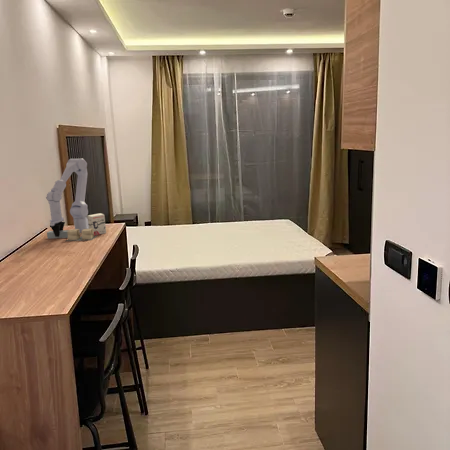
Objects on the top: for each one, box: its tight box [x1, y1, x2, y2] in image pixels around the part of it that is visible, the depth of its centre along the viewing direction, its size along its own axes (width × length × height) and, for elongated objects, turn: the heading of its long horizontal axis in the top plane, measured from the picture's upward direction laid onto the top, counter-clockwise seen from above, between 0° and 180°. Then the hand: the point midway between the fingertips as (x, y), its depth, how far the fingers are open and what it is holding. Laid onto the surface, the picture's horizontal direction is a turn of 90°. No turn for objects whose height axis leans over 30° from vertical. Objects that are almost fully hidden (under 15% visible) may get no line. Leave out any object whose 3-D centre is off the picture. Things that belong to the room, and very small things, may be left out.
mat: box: [65, 235, 98, 242], centre depth 244 cm, size 11×15×1 cm
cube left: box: [67, 228, 81, 240], centre depth 243 cm, size 5×5×5 cm
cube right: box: [81, 228, 95, 240], centre depth 242 cm, size 5×5×5 cm
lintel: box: [46, 229, 70, 240], centre depth 249 cm, size 12×4×4 cm, turn 89°
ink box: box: [87, 212, 107, 236], centre depth 253 cm, size 8×5×12 cm, turn 134°
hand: (59, 235), depth 249 cm, fingers closed on lintel, 4 cm apart
